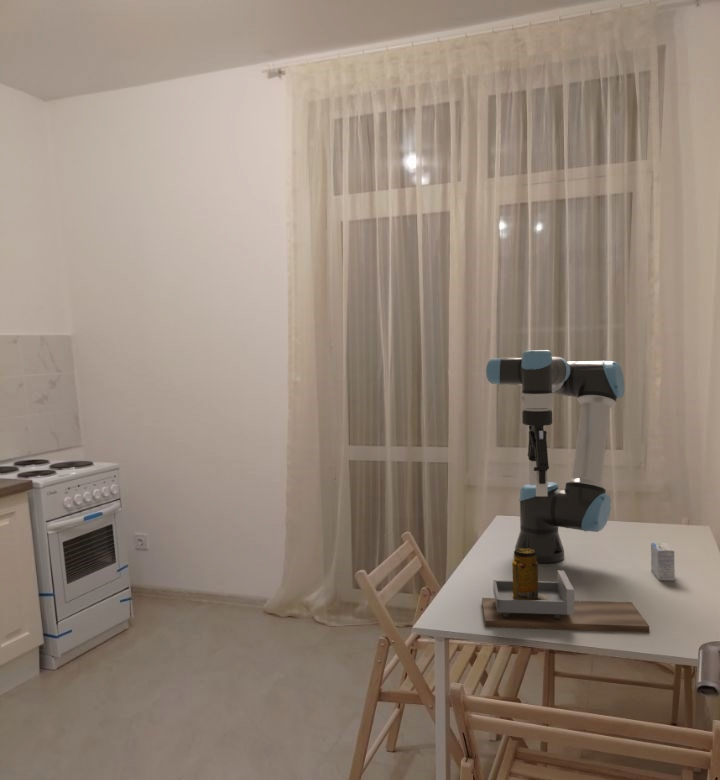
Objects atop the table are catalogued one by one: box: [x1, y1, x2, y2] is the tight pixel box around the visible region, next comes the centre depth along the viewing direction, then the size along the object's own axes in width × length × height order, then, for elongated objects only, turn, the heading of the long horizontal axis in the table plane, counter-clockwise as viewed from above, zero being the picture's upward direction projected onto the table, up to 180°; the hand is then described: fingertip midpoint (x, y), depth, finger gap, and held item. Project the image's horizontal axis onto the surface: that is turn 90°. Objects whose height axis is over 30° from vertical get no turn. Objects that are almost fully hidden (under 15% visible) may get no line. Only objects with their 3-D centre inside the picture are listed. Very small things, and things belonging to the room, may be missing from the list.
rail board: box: [481, 597, 650, 633], centre depth 153 cm, size 14×37×2 cm, turn 82°
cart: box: [492, 570, 575, 620], centre depth 154 cm, size 13×18×8 cm
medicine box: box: [650, 542, 676, 582], centre depth 179 cm, size 8×4×9 cm, turn 168°
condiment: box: [511, 548, 549, 600], centre depth 153 cm, size 7×8×12 cm
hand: (537, 490), depth 164 cm, fingers open, 13 cm apart
